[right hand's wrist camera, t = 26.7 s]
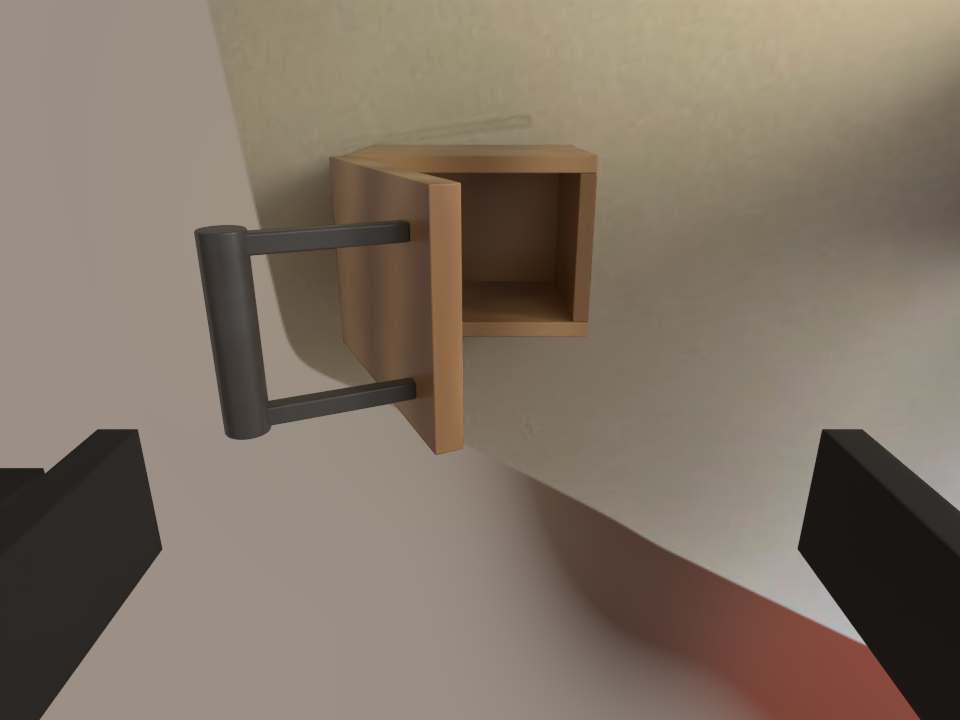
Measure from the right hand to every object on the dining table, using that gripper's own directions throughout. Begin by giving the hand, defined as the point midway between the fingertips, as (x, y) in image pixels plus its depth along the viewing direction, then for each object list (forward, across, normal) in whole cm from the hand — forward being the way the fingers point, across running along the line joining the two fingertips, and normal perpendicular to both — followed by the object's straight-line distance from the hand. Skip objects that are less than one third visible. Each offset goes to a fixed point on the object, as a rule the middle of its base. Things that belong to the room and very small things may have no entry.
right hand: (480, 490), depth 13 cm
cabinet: (+34, 0, 0) cm, 34 cm away
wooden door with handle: (+17, -3, 0) cm, 17 cm away
